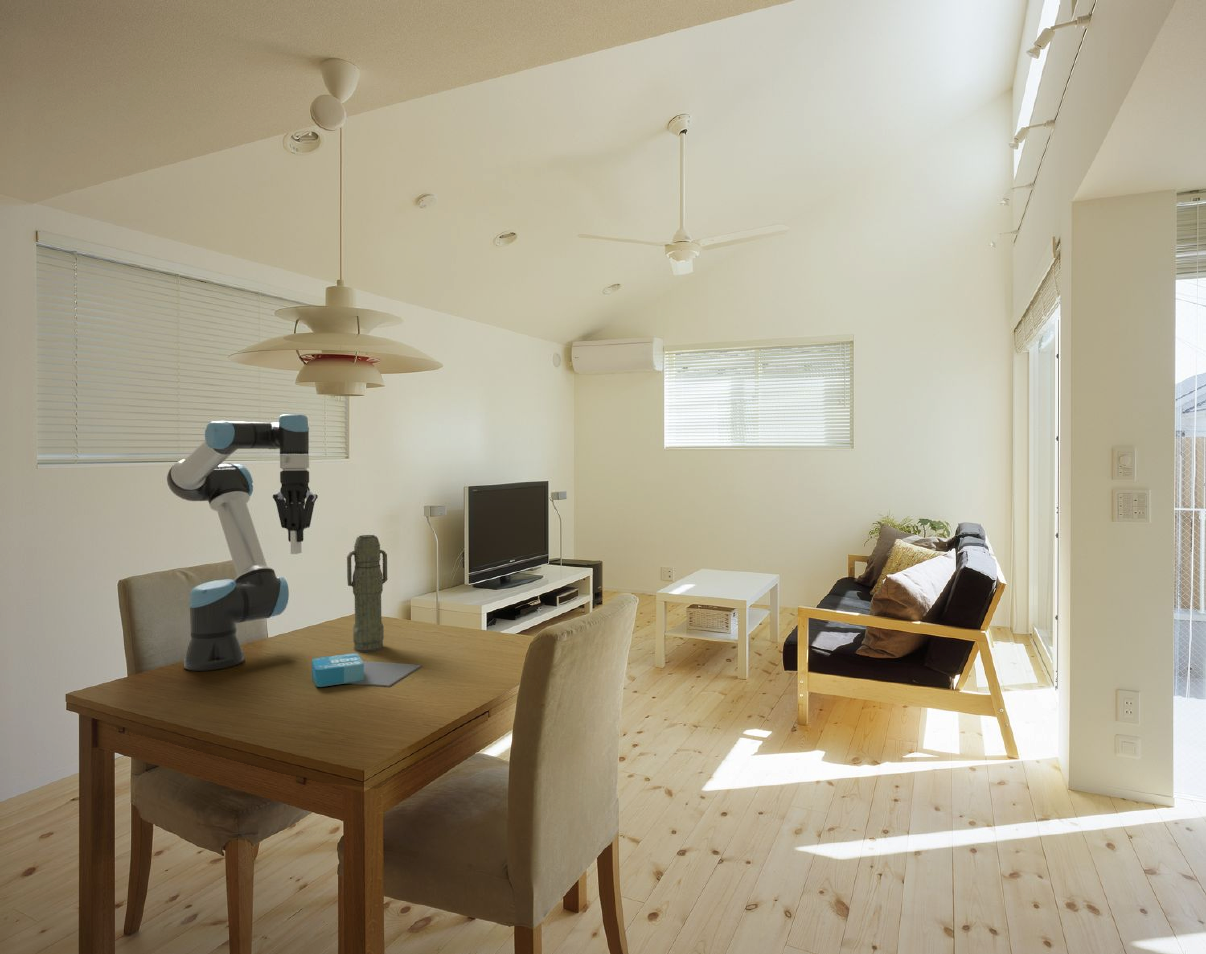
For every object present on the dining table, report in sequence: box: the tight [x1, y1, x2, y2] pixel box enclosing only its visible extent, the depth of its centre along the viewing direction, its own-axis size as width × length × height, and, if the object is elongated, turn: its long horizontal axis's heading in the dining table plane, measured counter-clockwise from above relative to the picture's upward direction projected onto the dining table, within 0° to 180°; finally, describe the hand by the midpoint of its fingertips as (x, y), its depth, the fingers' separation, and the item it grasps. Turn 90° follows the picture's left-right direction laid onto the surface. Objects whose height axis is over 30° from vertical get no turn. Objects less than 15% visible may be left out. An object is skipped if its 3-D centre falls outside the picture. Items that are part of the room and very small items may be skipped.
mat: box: [345, 660, 423, 688], centre depth 195 cm, size 19×18×1 cm
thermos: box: [346, 534, 388, 653], centre depth 220 cm, size 9×12×35 cm
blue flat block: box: [311, 652, 364, 688], centre depth 190 cm, size 12×4×12 cm
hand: (296, 553), depth 200 cm, fingers closed
